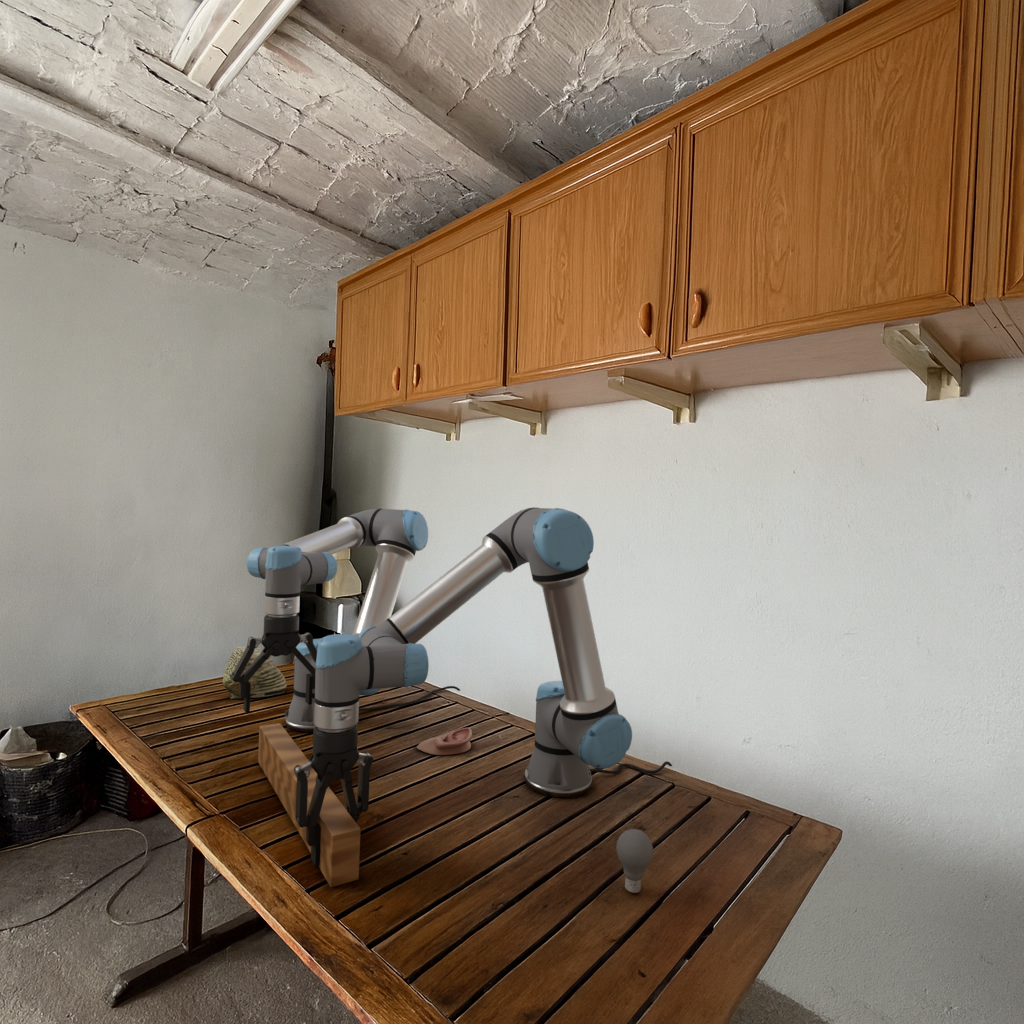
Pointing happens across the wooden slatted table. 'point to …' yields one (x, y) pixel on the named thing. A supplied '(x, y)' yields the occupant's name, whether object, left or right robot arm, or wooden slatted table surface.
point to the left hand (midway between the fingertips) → (278, 707)
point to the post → (334, 820)
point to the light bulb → (634, 857)
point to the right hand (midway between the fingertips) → (330, 857)
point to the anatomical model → (448, 743)
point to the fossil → (255, 676)
